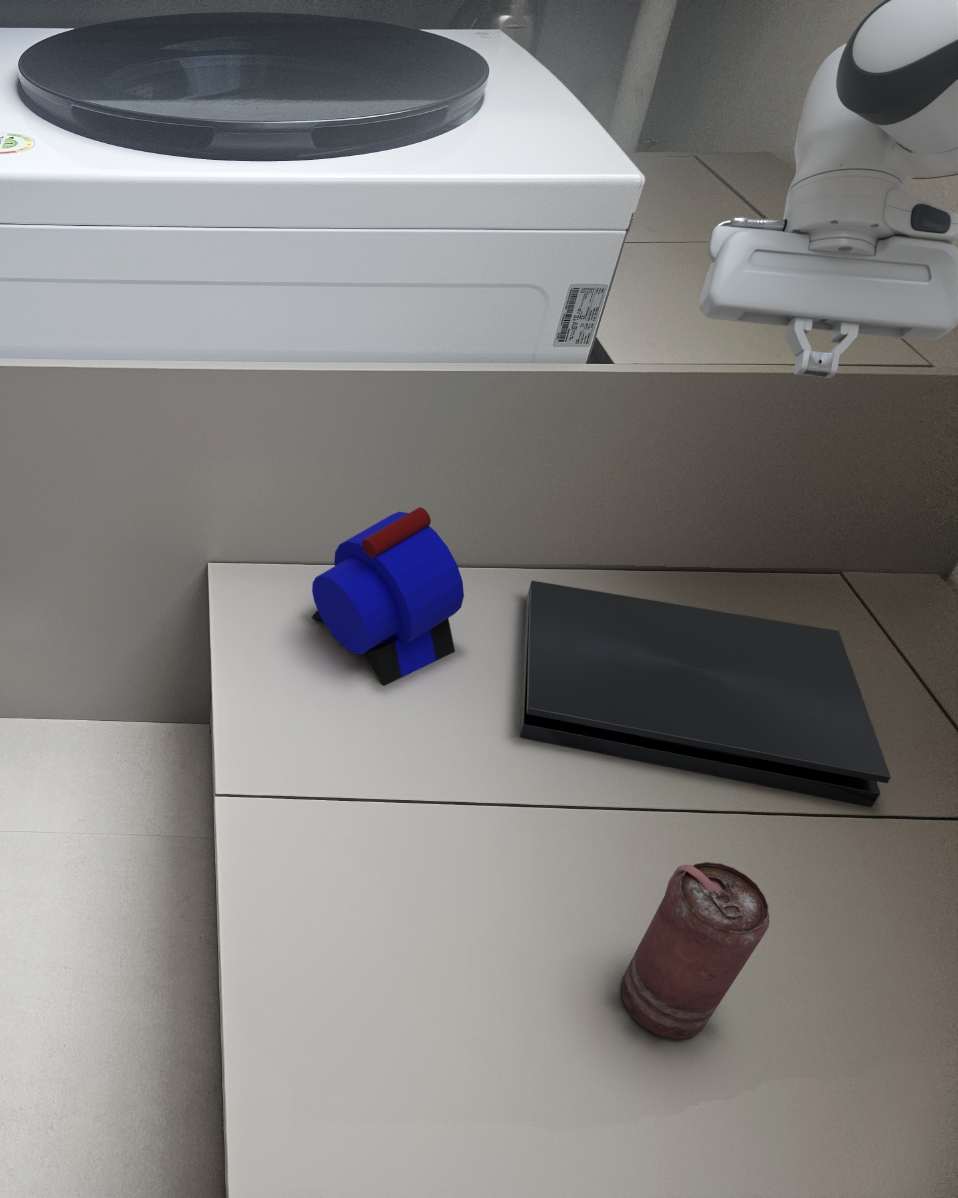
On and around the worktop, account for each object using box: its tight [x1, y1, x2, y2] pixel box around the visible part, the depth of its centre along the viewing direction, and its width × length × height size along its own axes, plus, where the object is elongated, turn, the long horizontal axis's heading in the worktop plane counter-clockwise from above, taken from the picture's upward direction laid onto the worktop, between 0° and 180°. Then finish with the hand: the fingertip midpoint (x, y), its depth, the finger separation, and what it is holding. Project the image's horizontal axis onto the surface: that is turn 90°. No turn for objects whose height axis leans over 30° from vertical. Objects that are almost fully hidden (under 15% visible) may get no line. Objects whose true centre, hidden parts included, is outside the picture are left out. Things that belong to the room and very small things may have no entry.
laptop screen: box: [527, 580, 892, 784], centre depth 101 cm, size 21×30×1 cm
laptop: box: [519, 587, 881, 807], centre depth 102 cm, size 21×30×2 cm
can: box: [620, 861, 770, 1040], centre depth 73 cm, size 6×6×14 cm
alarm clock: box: [311, 507, 465, 687], centre depth 105 cm, size 12×12×15 cm
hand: (814, 374), depth 92 cm, fingers closed
